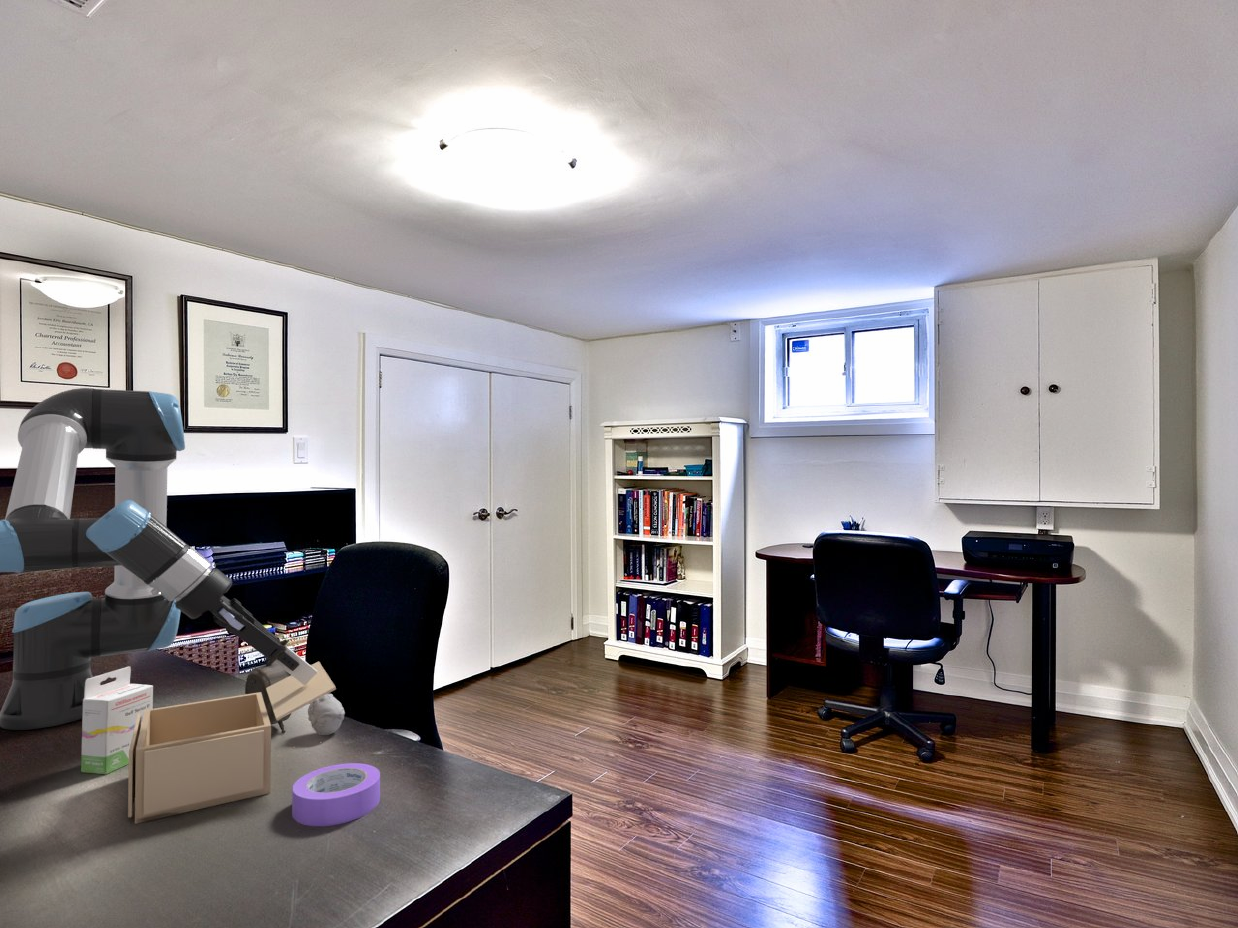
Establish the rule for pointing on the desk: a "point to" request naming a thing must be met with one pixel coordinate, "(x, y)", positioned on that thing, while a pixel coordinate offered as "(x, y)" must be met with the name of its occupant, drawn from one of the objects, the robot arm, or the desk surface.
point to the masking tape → (335, 794)
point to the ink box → (111, 720)
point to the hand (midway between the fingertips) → (310, 677)
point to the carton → (199, 756)
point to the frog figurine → (326, 714)
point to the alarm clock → (263, 679)
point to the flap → (298, 692)
